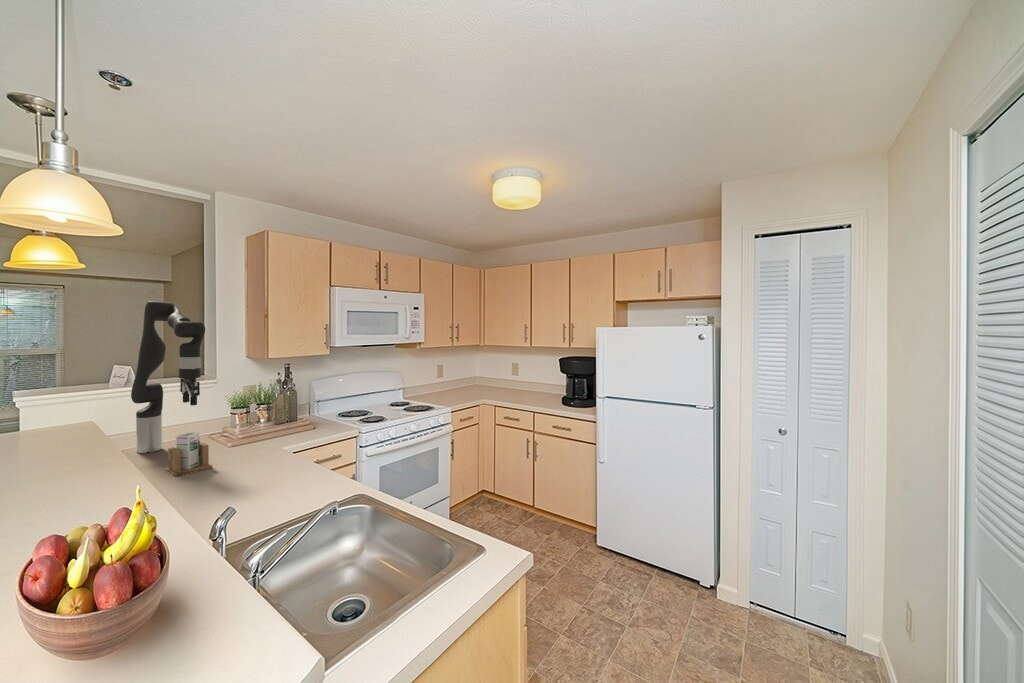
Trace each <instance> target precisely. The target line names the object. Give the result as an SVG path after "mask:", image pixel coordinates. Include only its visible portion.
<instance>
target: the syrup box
mask: <svg viewBox="0 0 1024 683" xmlns="http://www.w3.org/2000/svg"><path fill="white" fill-rule="evenodd" d="M200 438H201V437H200V432H195V431H194V432H193V431H192V432H185V433H183V434H179V435H176V436H175V442H176V443H175V448H176V449H179V450H180V460H181V469H191V468H193V467H195V466H198V465H200Z"/></svg>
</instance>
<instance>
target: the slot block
mask: <svg viewBox="0 0 1024 683" xmlns="http://www.w3.org/2000/svg"><path fill="white" fill-rule="evenodd" d="M167 453H168V454H167V455H168V456H167V459H168V460H167V462H168V463H167V467H166V468H164V472H166V471H167V472H166V473H168V472H169V473H168V474H169V475H171V474H172V476H173V475H174V476H173V477H175V478H176V476H177V477H180V475H181V476H184V475H183V474H185V475H188V474H187V473H189V474H192V473H191V472H193V473H196V472H195V471H197V472H200V471H199V470H201V471H204V470H203V469H206V470H208V468H210V469H213V465H212V464H210V463H209V461H210V459H209V458H210V457H209V456H210V455H209V444H208V443H205V442H203V441H201V442H200V465H198V466H195V467H193V468H191V469H181V460H180V450H179V449H176V447H174V446H173V447H169V448H167Z"/></svg>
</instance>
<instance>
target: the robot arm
mask: <svg viewBox="0 0 1024 683" xmlns="http://www.w3.org/2000/svg"><path fill="white" fill-rule="evenodd" d="M157 321H158V322H166V323H167V324H168V326H169V327H171V328H172V330H173V332H174V334H175V336H176V337H178V338H192V340H191V341H189V342H184V343H181V344H180V345H179V353H178V354H179V356H178V357H179V359H178V378H179V379H180V382H179V383H180V387H179V388H180V389H179V390H180V391H179V392H180V393H181V395H182V403H189V404H190V406H197V404H198V397H199V396H200V393H201V392H200V390H201V389H200V385H201V384H200V381H197V379H199V378H201V376H202V361H201V345H202V343H203V339H204V336H205V333H206V326H205V324H204V323H203V322H201V321H192V320H191V319H190V318H189V317H187V316H185V315H184V314H183V313H182V311H181V310H180V309H179V308H178V306H177V305H175V303H173V302H170V301H160V300H158V301H157V300H149V301H147V302H146V303H145V307H144V312H143V327H142V328H143V329H142V335H141V336H142V337H141V341H140V347H139V350H138V351H139V353H138V359H137V367H136V373H135V376H134V380H133V383H132V388H131V392H130V398H131V402H133V403H135V404H145V403H146V404H147V403H149V404H148V405H145V407H142V408H141V409H139V410H137V411H136V413H135V418H136V419H135V423H136V424H135V426H136V428H135V429H136V453H137V452H138V454H148V453H147V452H149V453H154V452H159V451H161V450H162V449H163V435H162V434H163V432H162V431H163V430H162V428H163V425H162V424H163V423H162V422H163V421H162V415H163V413H162V411H163V405H164V404H163V403H164V402H163V399H164V389H163V386H162V384H161V383H159V382H150V383H148V380H149V379H150V376H151V375H152V374H153V373H154V372H155V371H156V370H157V369H158V368H159V367H160V366H161V365H162V363H163V362H164V360H165V355H166V350H167V347H166V344H165V342H164V341H163V339H162V338H161V337H160V336H159V334H158V332H157V330H156V327H155V322H157ZM160 449H161V450H160Z"/></svg>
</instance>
